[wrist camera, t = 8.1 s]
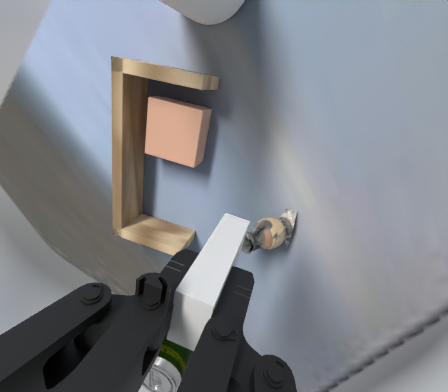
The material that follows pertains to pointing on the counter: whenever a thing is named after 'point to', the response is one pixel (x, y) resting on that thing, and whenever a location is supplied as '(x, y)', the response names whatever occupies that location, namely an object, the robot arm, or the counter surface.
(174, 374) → the beer can
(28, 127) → the counter surface
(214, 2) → the milk bottle
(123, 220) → the frame
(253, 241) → the vase
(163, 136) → the tile
